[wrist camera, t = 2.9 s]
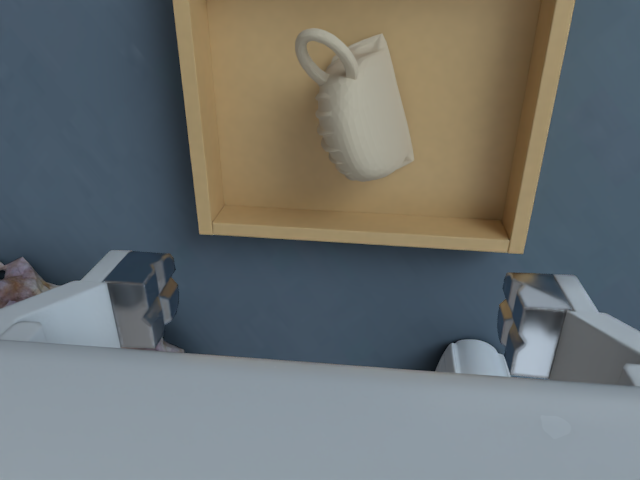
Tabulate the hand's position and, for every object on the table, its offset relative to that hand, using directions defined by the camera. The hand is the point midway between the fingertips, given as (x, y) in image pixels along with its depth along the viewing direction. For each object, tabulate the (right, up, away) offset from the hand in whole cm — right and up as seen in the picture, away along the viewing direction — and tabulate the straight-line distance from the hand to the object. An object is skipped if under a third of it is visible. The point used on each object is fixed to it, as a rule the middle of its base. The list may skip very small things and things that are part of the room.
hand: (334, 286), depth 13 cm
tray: (+2, +9, +15) cm, 17 cm away
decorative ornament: (+2, +9, +15) cm, 17 cm away
